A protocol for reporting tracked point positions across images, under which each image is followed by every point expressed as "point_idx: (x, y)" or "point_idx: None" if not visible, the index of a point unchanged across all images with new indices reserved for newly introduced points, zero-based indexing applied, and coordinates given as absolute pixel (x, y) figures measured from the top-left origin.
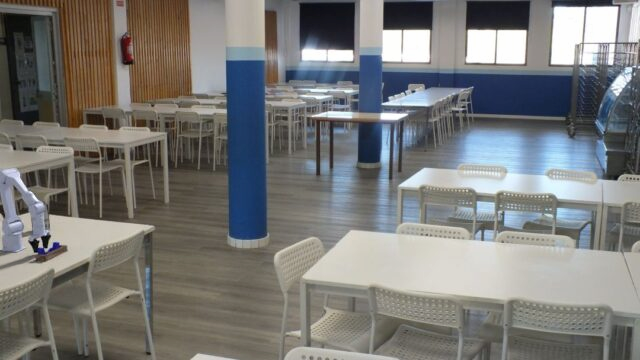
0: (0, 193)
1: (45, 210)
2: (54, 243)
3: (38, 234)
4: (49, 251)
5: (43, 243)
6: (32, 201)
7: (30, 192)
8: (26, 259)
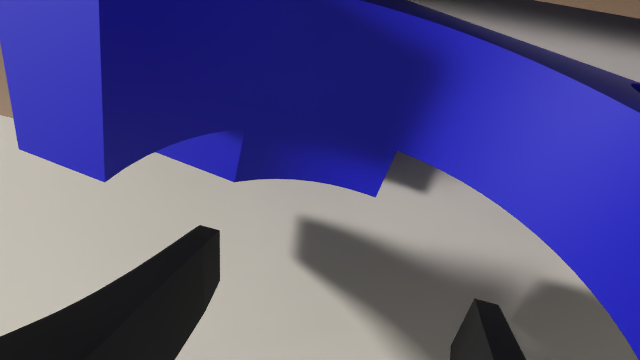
0: None
1: None
2: (120, 112)
3: None
4: (320, 136)
5: (168, 350)
6: None
7: None
8: (588, 354)
